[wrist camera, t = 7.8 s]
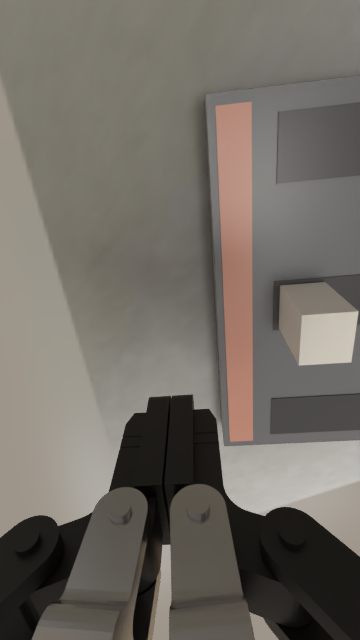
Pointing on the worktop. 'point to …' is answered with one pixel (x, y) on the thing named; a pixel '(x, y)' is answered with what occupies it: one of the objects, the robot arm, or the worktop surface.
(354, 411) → the breaker panel
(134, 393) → the worktop surface
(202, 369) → the worktop surface
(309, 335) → the handle
